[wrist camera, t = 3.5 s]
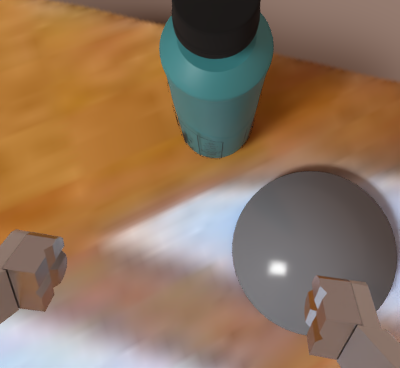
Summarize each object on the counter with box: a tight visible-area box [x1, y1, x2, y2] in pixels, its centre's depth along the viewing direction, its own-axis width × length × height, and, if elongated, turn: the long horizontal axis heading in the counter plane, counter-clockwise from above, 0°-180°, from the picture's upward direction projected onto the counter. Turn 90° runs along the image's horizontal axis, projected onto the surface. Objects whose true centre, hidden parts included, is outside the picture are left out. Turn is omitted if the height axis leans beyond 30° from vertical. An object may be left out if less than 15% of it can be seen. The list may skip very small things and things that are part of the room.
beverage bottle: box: [159, 0, 273, 159], centre depth 26 cm, size 6×7×20 cm
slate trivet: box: [232, 171, 397, 335], centre depth 33 cm, size 14×14×1 cm
